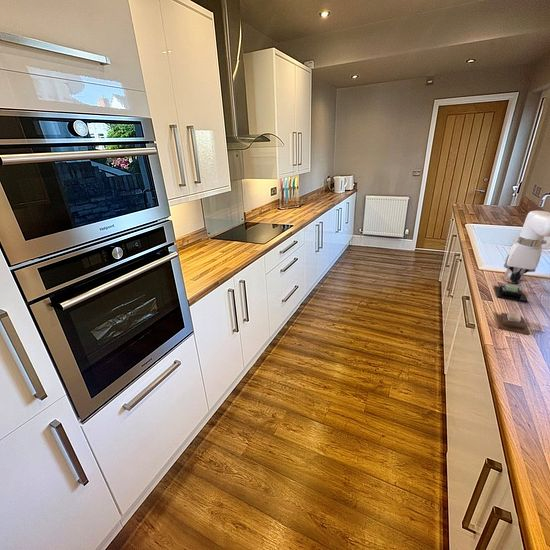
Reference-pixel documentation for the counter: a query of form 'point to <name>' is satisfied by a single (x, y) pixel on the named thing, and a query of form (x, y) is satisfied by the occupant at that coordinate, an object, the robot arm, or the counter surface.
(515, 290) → the key far
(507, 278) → the plastic bottle
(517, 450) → the counter surface
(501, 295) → the keypad far
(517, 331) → the keypad near
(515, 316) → the key near
